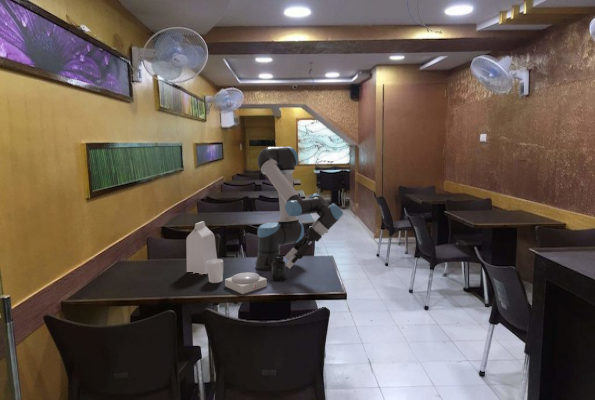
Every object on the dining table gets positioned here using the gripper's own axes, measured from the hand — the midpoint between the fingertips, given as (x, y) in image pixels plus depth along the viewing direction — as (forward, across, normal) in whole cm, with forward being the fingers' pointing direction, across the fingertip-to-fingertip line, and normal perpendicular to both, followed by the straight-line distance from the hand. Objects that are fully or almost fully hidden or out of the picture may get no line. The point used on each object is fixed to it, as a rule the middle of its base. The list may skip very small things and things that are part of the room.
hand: (286, 262), depth 198 cm
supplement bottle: (+9, +1, -4) cm, 10 cm away
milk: (+38, +21, +26) cm, 50 cm away
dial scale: (+20, -6, +8) cm, 23 cm away
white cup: (+31, +3, +19) cm, 37 cm away
